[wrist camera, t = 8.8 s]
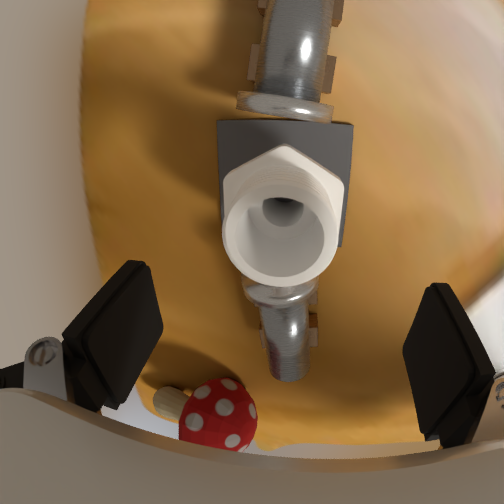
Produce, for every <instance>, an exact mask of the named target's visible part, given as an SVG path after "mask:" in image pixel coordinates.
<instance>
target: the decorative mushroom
mask: <svg viewBox="0 0 504 504" xmlns="http://www.w3.org/2000/svg"><path fill="white" fill-rule="evenodd" d="M153 404H154V407H155V409H156V411H157V412H158V413H159V414H160V415H162V416H164V417H166V418H170V419H174V420H178V421H179V440H181V441H185V442H190V443H194V444H199V445H203V446H208V447H213V448H218V449H224V450H229V451H236V452H243V451H244V450H245V449H246V448H247V447H248V446H249V444H250V442H251V441H252V439H253V437H254V434H255V431H256V428H257V419H258V416H257V412H256V407H255V404H254V401H253V399H252V398H251V396H250V395H249V394H248V392H247V391H246V390H245V388H244V387H243V385H241V384H240V383H238V382H237V381H234V380H232V379H230V378H227V377H224V378H217V379H212V380H208V381H207V382H205V383H204V384H202V385H201V386H199V387H198V388H197V389H195V391H194V392H193V393H192V395H191V396H190V397H189V396H188V395H186V394H185V393H184V392H182V391H181V390H179V389H176V388H173V387H170V386H167V387H163V388H161V389H159V390H157V391H156V393H155V394H154V397H153Z"/></svg>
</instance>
